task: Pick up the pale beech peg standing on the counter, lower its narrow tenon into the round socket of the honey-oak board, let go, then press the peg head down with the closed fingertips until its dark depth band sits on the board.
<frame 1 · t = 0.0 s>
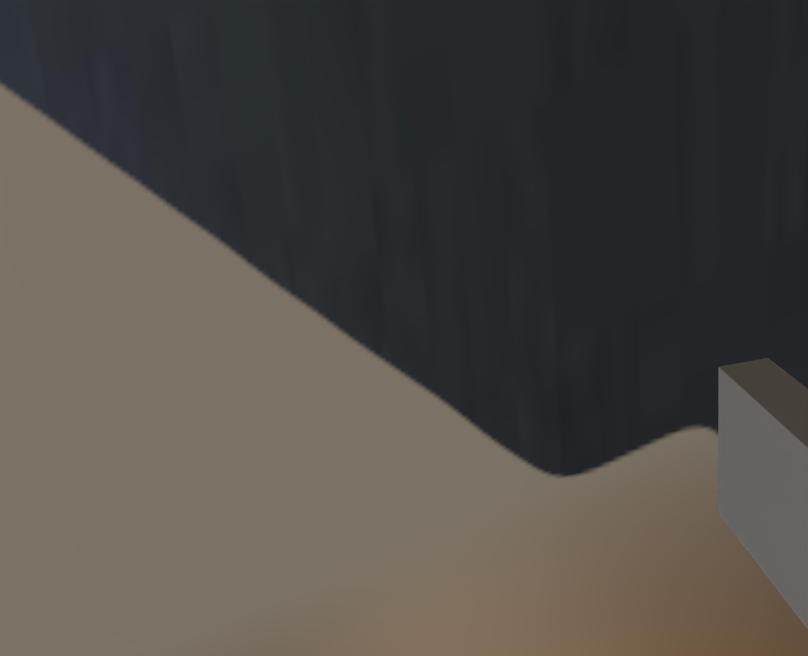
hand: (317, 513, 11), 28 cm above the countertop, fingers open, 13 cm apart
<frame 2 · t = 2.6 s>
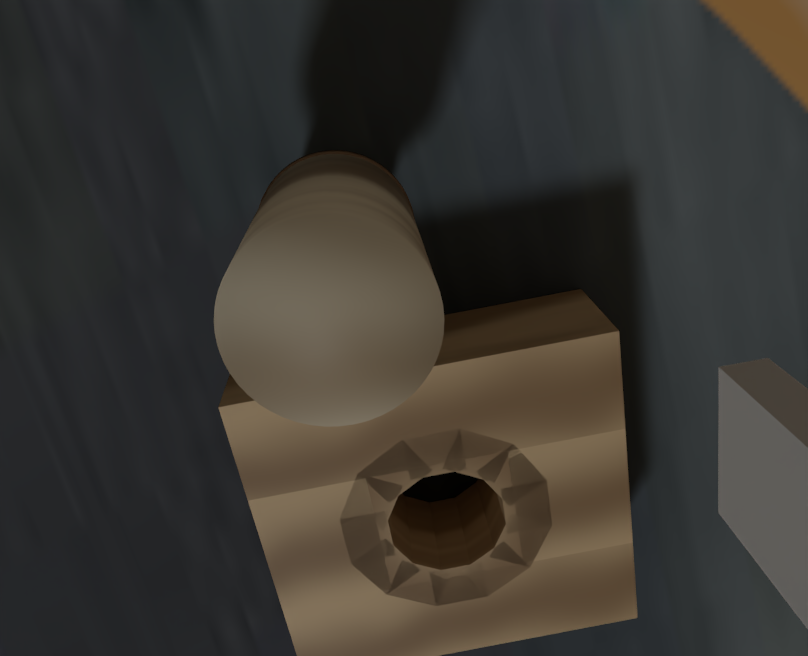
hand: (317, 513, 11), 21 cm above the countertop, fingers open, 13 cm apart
peg: (338, 201, 30), on the countertop
board: (434, 459, 36), on the countertop
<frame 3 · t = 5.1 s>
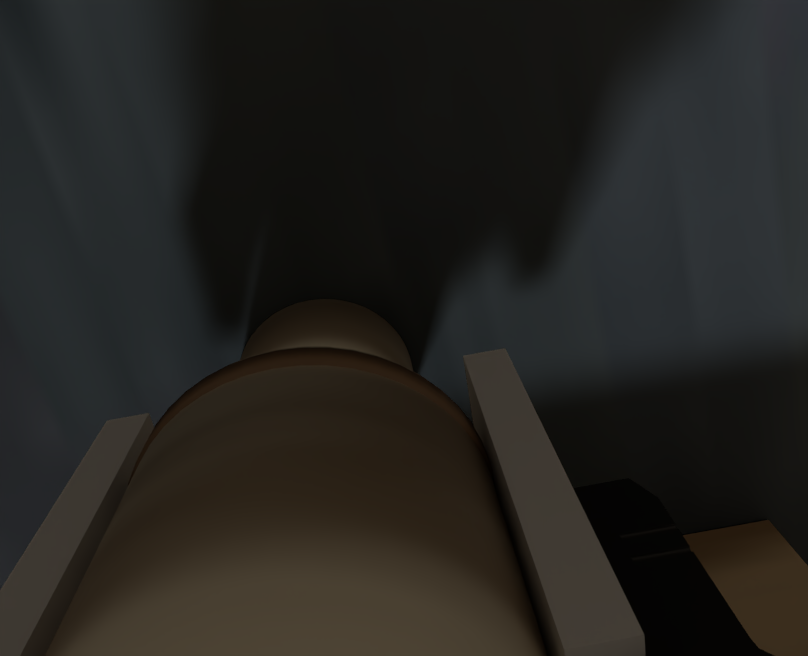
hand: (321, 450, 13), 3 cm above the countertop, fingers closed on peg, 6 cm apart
peg: (326, 380, 16), on the countertop, touching gripper
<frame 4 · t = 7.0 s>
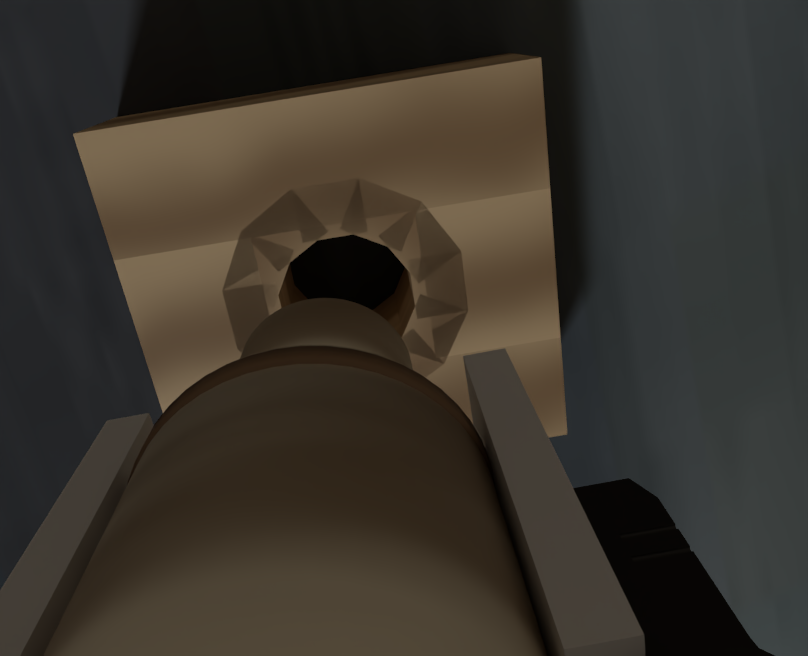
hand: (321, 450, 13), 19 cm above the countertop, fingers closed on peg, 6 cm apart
peg: (326, 379, 16), point 16 cm above the countertop, touching gripper
board: (347, 261, 32), on the countertop
when the fingers open (6 cm above the countertop, at t = 9.4 s): peg drops 3 cm, resting on board.
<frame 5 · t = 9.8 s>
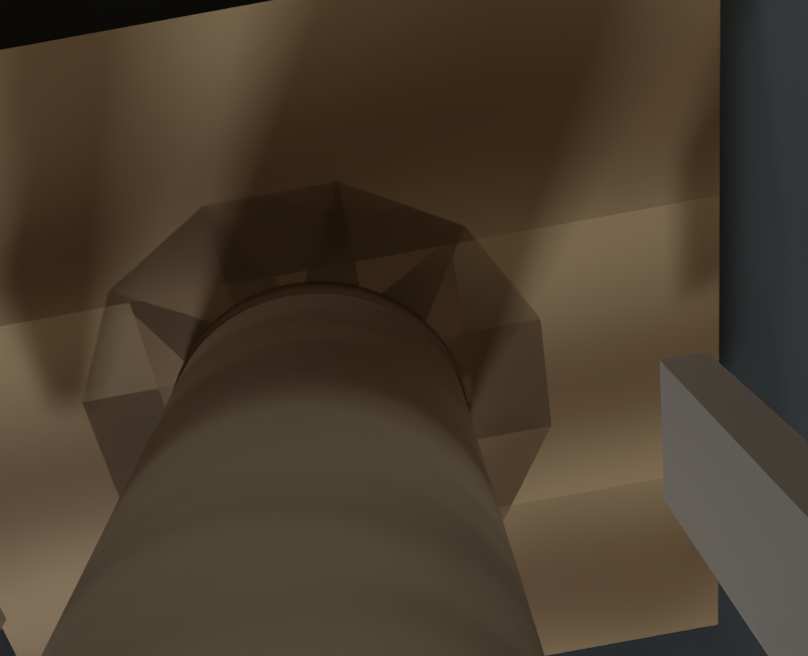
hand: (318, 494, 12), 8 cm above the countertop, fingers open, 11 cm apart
peg: (329, 328, 18), resting on board
board: (330, 321, 19), on the countertop
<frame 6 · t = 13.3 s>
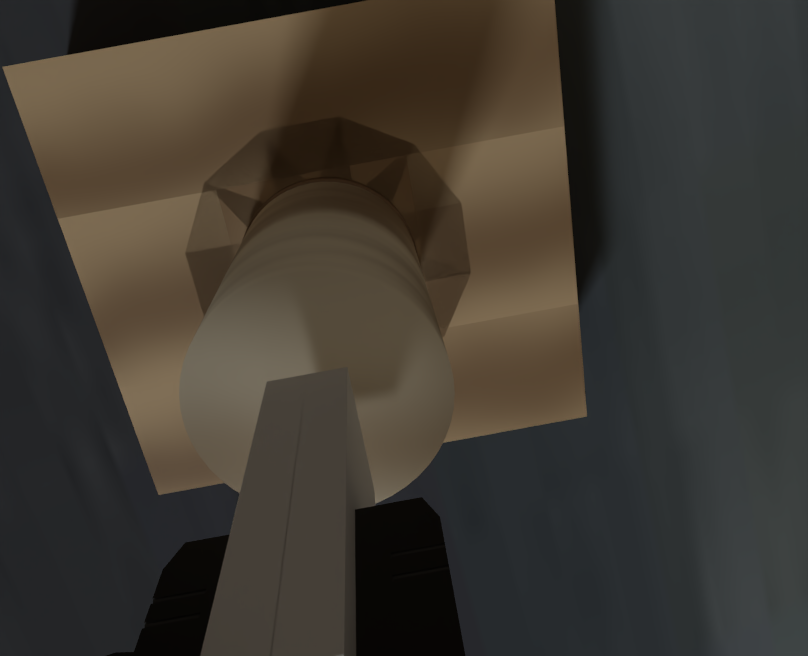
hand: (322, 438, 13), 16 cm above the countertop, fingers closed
peg: (332, 228, 28), resting on board
board: (333, 225, 28), on the countertop
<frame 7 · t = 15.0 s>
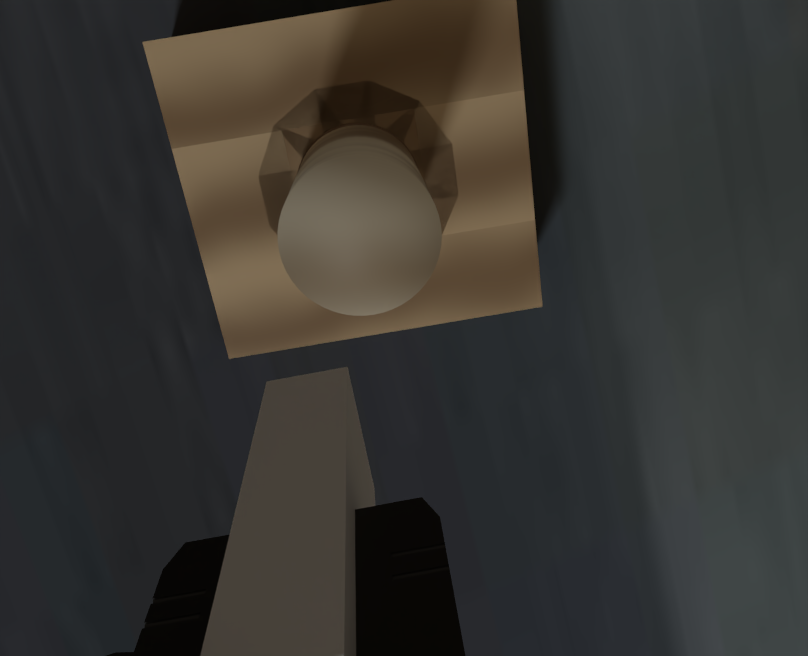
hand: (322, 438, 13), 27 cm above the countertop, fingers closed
peg: (358, 169, 37), resting on board
board: (359, 167, 38), on the countertop
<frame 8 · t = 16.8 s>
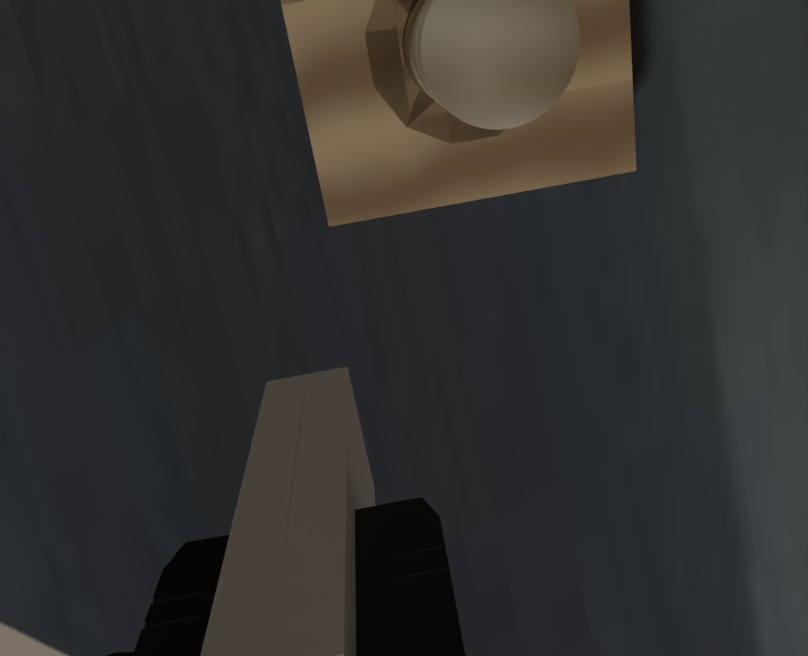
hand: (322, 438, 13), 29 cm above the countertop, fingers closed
peg: (450, 42, 38), resting on board
board: (449, 42, 38), on the countertop
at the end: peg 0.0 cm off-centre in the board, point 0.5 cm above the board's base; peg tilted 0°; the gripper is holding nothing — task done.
